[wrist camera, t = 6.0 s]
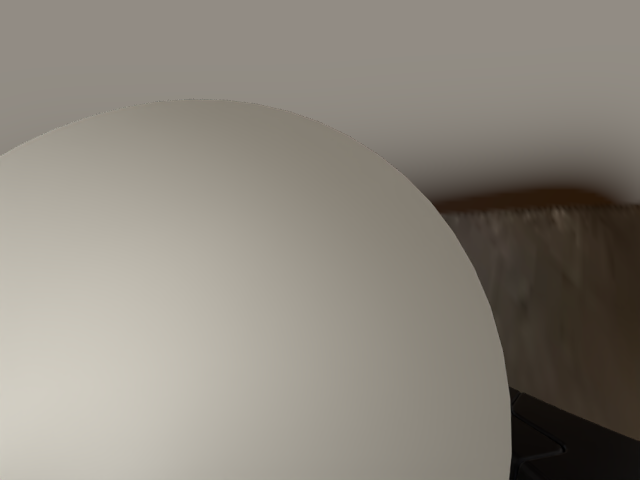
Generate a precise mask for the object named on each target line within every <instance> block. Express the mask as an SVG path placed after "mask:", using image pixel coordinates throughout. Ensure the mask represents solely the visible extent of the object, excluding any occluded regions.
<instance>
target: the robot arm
mask: <svg viewBox="0 0 640 480" xmlns="http://www.w3.org/2000/svg"><path fill="white" fill-rule="evenodd" d="M508 388H509V394H510V406H511V448H512V454H511V464H510V474H509V480H640V441H637V440H635V439H632V438H630V437H627V436H625V435H622V434H620V433H617V432H615V431H612V430H610V429H607V428H605V427H602V426H600V425H597V424H595V423H593V422H590V421H588V420H585V419H583V418H580V417H578V416H576V415H573V414H571V413H568V412H566V411H564V410H562V409H559V408H557V407H555V406H553V405H550V404H548V403H546V402H543V401H541V400H539V399H537V398H535V397H532V396H530V395H528V394H526V393H520V392H519V391H518V390H515V389H513V388H511V387H509V386H508Z"/></svg>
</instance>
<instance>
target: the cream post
mask: <svg viewBox="0 0 640 480" xmlns="http://www.w3.org/2000/svg"><path fill="white" fill-rule="evenodd" d="M511 454H512V448H511V406H510V394H509V388H508V381H507V374H506V368H505V361H504V354H503V349H502V346H501V342H500V339H499V335H498V331H497V328H496V324H495V321H494V317H493V314H492V310H491V307H490V304H489V302H488V299H487V297H486V295H485V292H484V290H483V288H482V285H481V283H480V280H479V278H478V276H477V273H476V271H475V269H474V267H473V265H472V263H471V261H470V260H469V258H468V256H467V254H466V253H465V251H464V249H463V248H462V246H461V244H460V242H459V241H458V239H457V237H456V235H455V234H454V232H453V231H452V229H451V228H450V227H449V225H448V224H447V223H446V222H445V220H444V219H443V218H442V216H441V215H440V214H439V212H438V211H437V210H436V208H435V207H434V206H433V204H432V203H431V202H430V201H429V200H428V199H427V198H426V197H425V196H424V195H423V194H422V193H421V192H420V190H419V189H418V188H417V187H416V186H415V185H414V184H413V183H412V182H411V181H410V180H409V179H408V178H407V177H406V176H405V175H404V174H402V173H401V172H400V171H399V170H397V169H396V168H395V167H394V166H392V165H391V164H390V163H389V162H387V161H386V160H385V159H384V158H382V157H381V156H380V155H379V154H377V153H376V152H374V151H372V150H370V149H369V148H368V147H366V146H364V145H363V144H361V143H359V142H358V141H356V140H355V139H353V138H352V137H350V136H348V135H346V134H344V133H342V132H340V131H337V130H335V129H333V128H331V127H329V126H327V125H325V124H323V123H321V122H319V121H315V120H313V119H309V118H307V117H304V116H301V115H298V114H295V113H292V112H289V111H286V110H282V109H277V108H273V107H268V106H264V105H259V104H255V103H246V102H237V101H230V100H211V99H210V100H209V99H185V100H172V101H159V102H152V103H146V104H140V105H134V106H128V107H123V108H119V109H115V110H111V111H108V112H104V113H100V114H96V115H93V116H89V117H86V118H83V119H80V120H78V121H75V122H72V123H70V124H67V125H64V126H61V127H58V128H56V129H53V130H51V131H49V132H46V133H44V134H42V135H40V136H38V137H36V138H34V139H32V140H30V141H27V142H25V143H23V144H21V145H19V146H17V147H15V148H13V149H12V150H10V151H8V152H6V153H5V154H3V155H1V156H0V480H509V474H510V464H511Z"/></svg>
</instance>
